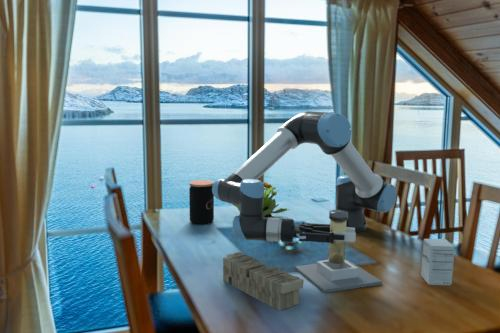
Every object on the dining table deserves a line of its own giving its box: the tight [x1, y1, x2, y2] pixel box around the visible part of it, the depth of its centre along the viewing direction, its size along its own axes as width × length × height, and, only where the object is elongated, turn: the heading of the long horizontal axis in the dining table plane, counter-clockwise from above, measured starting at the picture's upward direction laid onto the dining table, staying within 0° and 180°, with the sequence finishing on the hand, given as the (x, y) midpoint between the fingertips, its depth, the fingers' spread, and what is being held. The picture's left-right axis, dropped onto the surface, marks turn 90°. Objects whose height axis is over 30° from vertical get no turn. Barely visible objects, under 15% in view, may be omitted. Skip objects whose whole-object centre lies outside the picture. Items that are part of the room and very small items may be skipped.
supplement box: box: [420, 238, 456, 286], centre depth 151 cm, size 7×7×13 cm
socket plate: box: [294, 259, 383, 294], centre depth 154 cm, size 20×20×4 cm
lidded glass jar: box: [328, 209, 348, 264], centre depth 152 cm, size 6×6×16 cm
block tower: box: [222, 251, 305, 312], centre depth 142 cm, size 8×8×29 cm
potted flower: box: [232, 181, 291, 218], centre depth 222 cm, size 25×24×18 cm
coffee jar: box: [188, 179, 215, 226], centre depth 214 cm, size 11×11×18 cm
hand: (355, 234), depth 151 cm, fingers closed on lidded glass jar, 5 cm apart
